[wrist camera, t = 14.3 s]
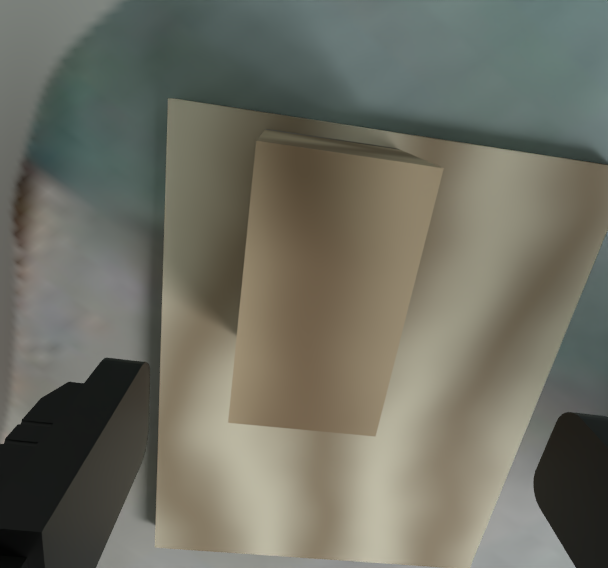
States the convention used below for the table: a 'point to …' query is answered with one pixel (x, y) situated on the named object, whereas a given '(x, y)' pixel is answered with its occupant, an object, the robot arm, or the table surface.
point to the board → (408, 363)
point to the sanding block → (327, 280)
